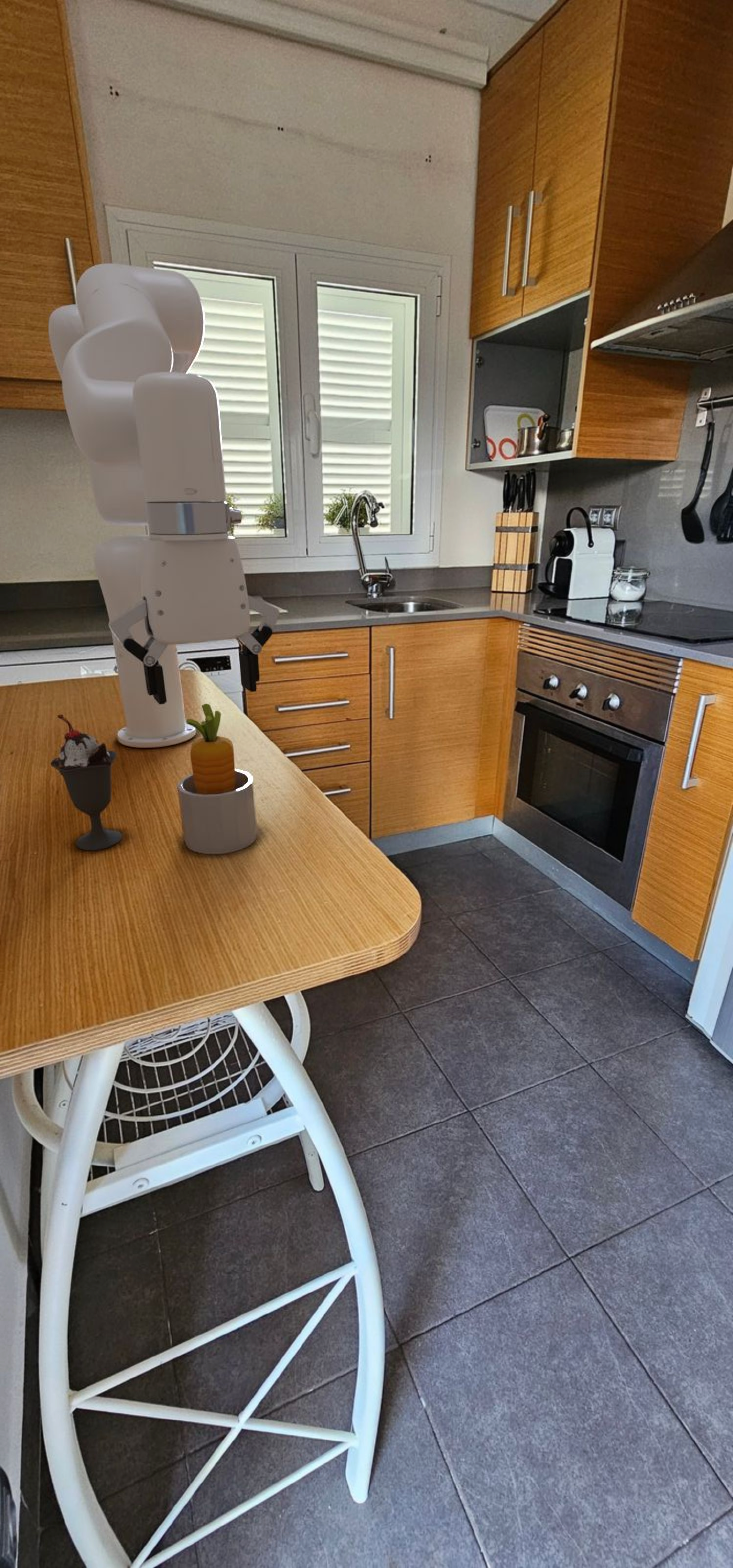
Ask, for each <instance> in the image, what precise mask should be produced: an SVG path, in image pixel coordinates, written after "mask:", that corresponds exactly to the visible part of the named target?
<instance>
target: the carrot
mask: <svg viewBox="0 0 733 1568" xmlns="http://www.w3.org/2000/svg"><path fill="white" fill-rule="evenodd" d="M201 708H202V712H203V714H204V716H205V717H204V718H205V720H202V721H201V722H199V721H198V720H195V719H192V718H187V719H186V720H185V721H186V723H187V724H189V725H191V726H193V727H195V728H196V731H198V732H199V733H200V734H201V736H202V737H200V738H197V739H195V740H194V741H193V742H192V743H191V746H190V752H189V754H190V763H191V764H190V765H191V769H192V774H193V777H194V782H195V788H196V791H197V794H203V795H209V794H222V793H227V792H232V791H234V790H235V769H236V768H235V750H234V744H233V742H232V740H231V739H229V738H227V737H226V736H225V737H224V736H219V735H218V731H219V727H220V724H221V717H222V712H220V711H219V710H215V711H214V712H213V709H212V706H211V705H210V703H204V704H202V705H201Z"/></svg>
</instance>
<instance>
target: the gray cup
mask: <svg viewBox="0 0 733 1568" xmlns="http://www.w3.org/2000/svg"><path fill="white" fill-rule="evenodd" d="M176 789H177V797H178V804H179V811H180V813H179V814H180V819H181V828H182V836H183V839H184V844H185V846H186V847H187V848H188V849H189V850H191V851H192V852H196V853H198V854H202V855H225V854H230V853H235V852H238V851H241V850H243V849H245V848H247V847H249V846H250V845H252V844H253V843H254V842H256V840H257V838H258V823H257V810H256V809H257V808H256V797H255V796H256V795H255V785H254V777H253V776H252V775H251V774H250V773H249V772H248V771H244V770H241V769H236V768H235V790H234V791H232V792H227V793H222V794H209V795H203V794H197V791H196V788H195V782H194V777H193V773H191V774H187V775H186V776H184V777H183V778H181V779H180V780H179V781H178V783H177V785H176Z"/></svg>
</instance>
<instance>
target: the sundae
mask: <svg viewBox="0 0 733 1568" xmlns="http://www.w3.org/2000/svg"><path fill="white" fill-rule="evenodd" d="M57 718H58V719H60V720H61V721H63V722H65V723H66V724H67V727H68V732H67V733H65V734H64V735H63V736H64V740H65V743H64V744H63V745H62V746H61V747H60V750H59V754H58V755H59V756H58V757H56V758H54V759H52V760H51V762H50V766H51V767H53V768H55V769H56V770H57V771H59V773H60V775H61V776H62V778H63V781H64V784H65V786H66V790H67V793H68V795H69V798H70V800H71V802H72V805H73V806H74V808H76V809H77V810H78V811H79V812H80V813H83V814H85V815H86V816H87V815H88V816H89V821H90V832H87V833H85V834H84V835H82V836H80V837H79V838H78V839H77V840H76V843H75V844H76V845H75V846H76V847H77V848H79V849H81V850H83V851H100V850H104V849H108V848H111V847H114V846H115V845H117V844H118V843H120V842H121V840H122V838H123V835H122V833H121V832H119V831H118V830H114V829H105V827H104V825H103V822H102V817H101V813H102V812H103V811H104V810H106V809H107V807H108V805H110V802H111V801H112V764H113V763H114V762H115V760H116V758H117V752H116V751H114V750H107V745H106V743H104V742H103V743H101V744H99V741H98V740H97V739H96V738H94V737H93V736H92V735H90V734H87V733H82V732H80V731H79V730H77V729H74V728H73V726H72V724H71V723H70V721H69V720H68V719H67V718H66V717H64V714H58V715H57Z"/></svg>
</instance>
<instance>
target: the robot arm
mask: <svg viewBox="0 0 733 1568" xmlns="http://www.w3.org/2000/svg"><path fill="white" fill-rule="evenodd" d="M75 302H76V303H74V304H67V305H62V306H60V307H57V308H55V310H53V311H52V312H51V314H50V315H49V319H48V338H49V344H50V348H51V352H52V356H53V360H54V363H55V366H56V369H57V372H58V375H59V377H60V380H61V387H62V397H63V403H64V406H65V410H66V414H67V417H68V422H69V426H70V429H71V432H72V435H73V436H72V437H73V439H74V441H75V443H76V445H77V448H78V450H79V451H80V453H81V454H82V455H83V456H84V458H85V459H86V460H87V461H88V462H87V463H88V467H89V473H90V479H91V485H92V491H93V496H94V501H95V505H96V508H97V511H98V513H99V515H100V516H101V518H102V519H103V520H104V521H105V522H107V523H108V524H111V525H114V526H126V527H127V526H128V527H129V526H132V527H133V526H134V527H135V526H136V527H137V526H139V527H140V526H147V527H148V534H126V535H116V536H112V537H109V538H107V539H104V540H103V541H101V542H100V543H99V544H97V547H96V549H95V551H94V555H93V556H94V557H93V561H94V568H95V572H96V576H97V579H98V582H99V586H100V590H101V593H102V596H103V599H104V603H105V606H106V611H107V615H108V620H109V621H108V628H109V629H110V632H111V637H112V644H113V649H114V650H113V651H114V656H115V662H116V663H115V664H116V668H117V675H118V684H119V689H120V695H121V702H122V709H123V716H124V722H125V726H124V727H122V728H121V729H120V730H118V732H117V741H118V743H120V744H121V745H123V746H127V747H129V748H130V747H131V748H137V749H138V748H139V749H140V748H141V749H142V748H144V749H145V748H146V749H148V748H151V749H152V748H162V747H168V746H173V745H177V744H181V743H184V742H187V741H188V740H191V739H192V738H193V737H194V736H196V734H197V729H196V728H195V727H193V726H191V725H189V724H187V723H186V721H187V720H186V716H185V715H186V714H185V706H184V695H183V690H182V689H183V687H182V681H181V671H180V663H179V655H178V654H179V653H178V645H187V644H189V645H190V644H199V643H208V642H209V643H210V642H217V641H218V642H219V641H225V640H226V641H228V640H235V641H237V643H239V645H240V646H241V649H240V650H239V652H238V660H239V661H238V662H239V676H240V684H241V685H240V686H242V687H243V688H244V689H246V690H247V691H248V692H251V693H253V692H257V682H259V681H260V680H261V679H260V663H259V655H260V654H261V653H262V651H263V647H264V646H265V645H266V644H267V642H268V641H269V639H270V638H271V637H272V636H273V630H274V628H275V627H276V624H277V621H278V619H279V617H280V610H279V609H278V608H277V607H275V606H273V605H270V604H268V603H267V602H264V601H261V600H259V599H257V598H255V597H253V596H251V595H249V594H248V589H247V582H246V576H245V572H244V567H243V561H242V557H241V554H240V549H239V546H238V542H237V540H236V537H235V536H230V532H231V529H232V528H231V527H232V526H234V525H237V524H239V525H240V524H241V523H242V520H243V519H242V518H243V517H242V512H241V509H234V508H232V507H230V505H229V502H227V491H226V480H225V468H224V467H225V465H224V453H223V442H222V429H221V417H220V404H219V398H218V397H219V396H218V393H217V389H216V387H215V385H214V384H213V383H212V381H211V380H210V379H208V378H207V377H205V376H202V375H199V374H195V373H189V371H190V369H191V368H192V365H193V364H194V363H195V361H196V359H197V357H198V356H199V353H200V351H201V349H202V346H203V342H204V338H205V328H206V326H205V325H206V322H205V321H206V320H205V319H206V318H205V312H204V306H203V302H202V299H201V296H200V294H199V291H198V289H197V288H196V286H195V284H194V283H193V282H192V281H191V280H190V279H189V278H188V277H187V276H186V275H184V274H183V273H181V272H178V271H174V270H169V269H168V270H167V269H159V268H152V267H145V266H136V265H129V264H121V263H112V262H111V263H108V262H107V263H100V264H99V263H98V264H95V265H93V266H91V267H89V268H87V269H86V270H85V271H84V272H83V273H82V274H81V276H80V277H79V280H78V281H77V285H76V289H75ZM250 611H253V612H256V613H257V614H259V615H260V617H261V619H260V623H259V625H258V626H257V627H256V628H255V629H254V631H252V633H250V632H249V631H250V630H251V629H250V628H251V612H250Z"/></svg>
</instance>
